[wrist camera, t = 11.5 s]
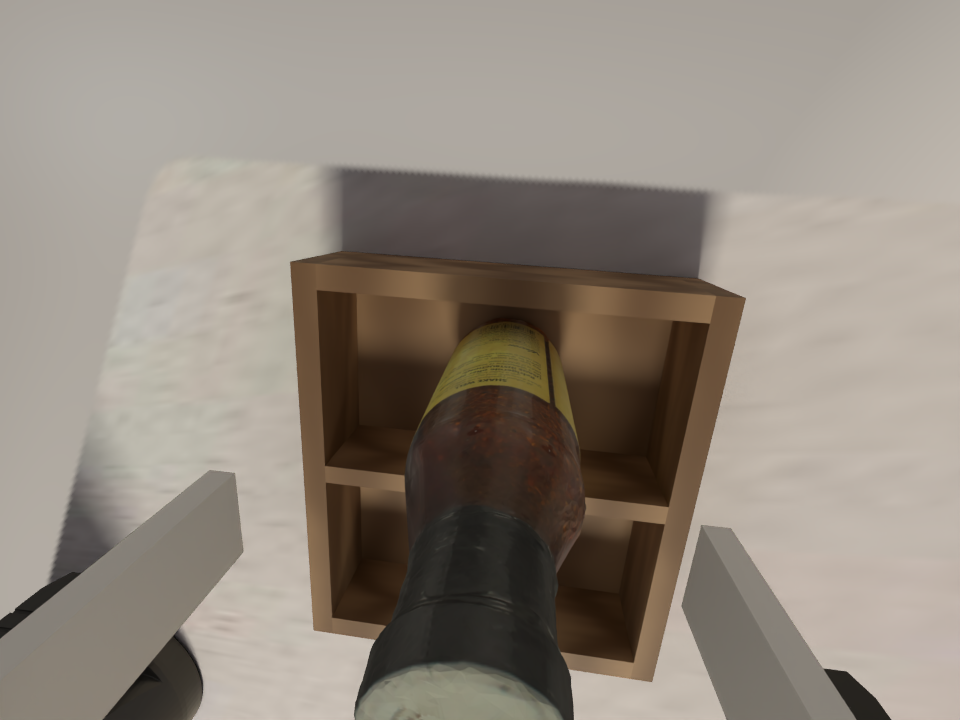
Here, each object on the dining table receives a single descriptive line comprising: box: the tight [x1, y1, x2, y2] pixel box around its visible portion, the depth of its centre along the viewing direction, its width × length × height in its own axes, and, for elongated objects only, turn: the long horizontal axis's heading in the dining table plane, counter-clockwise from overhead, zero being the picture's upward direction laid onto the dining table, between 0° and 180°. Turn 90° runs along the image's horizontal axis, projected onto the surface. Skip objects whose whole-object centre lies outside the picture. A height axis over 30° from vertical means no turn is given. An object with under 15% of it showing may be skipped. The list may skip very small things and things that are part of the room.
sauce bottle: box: [354, 318, 586, 720], centre depth 17 cm, size 7×6×20 cm
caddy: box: [290, 251, 746, 682], centre depth 27 cm, size 20×22×6 cm
